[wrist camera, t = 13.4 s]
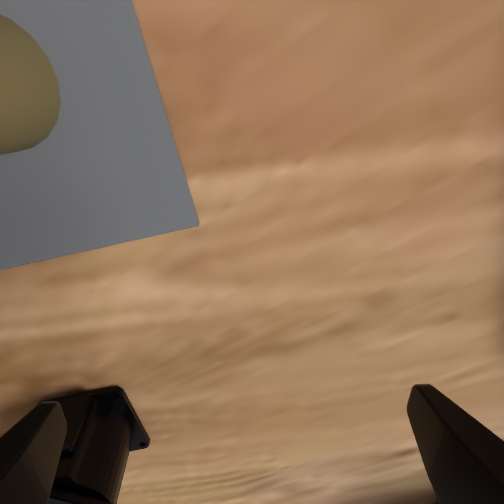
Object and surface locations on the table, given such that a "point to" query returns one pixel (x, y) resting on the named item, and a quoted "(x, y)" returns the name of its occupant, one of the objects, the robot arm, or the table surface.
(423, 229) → the table surface
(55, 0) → the mat
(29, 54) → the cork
